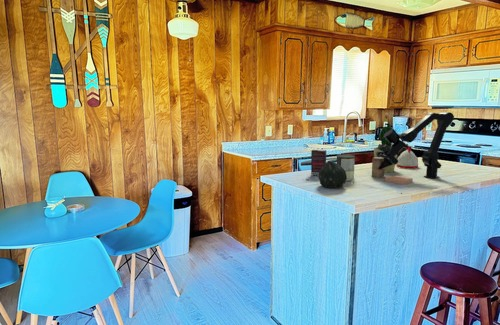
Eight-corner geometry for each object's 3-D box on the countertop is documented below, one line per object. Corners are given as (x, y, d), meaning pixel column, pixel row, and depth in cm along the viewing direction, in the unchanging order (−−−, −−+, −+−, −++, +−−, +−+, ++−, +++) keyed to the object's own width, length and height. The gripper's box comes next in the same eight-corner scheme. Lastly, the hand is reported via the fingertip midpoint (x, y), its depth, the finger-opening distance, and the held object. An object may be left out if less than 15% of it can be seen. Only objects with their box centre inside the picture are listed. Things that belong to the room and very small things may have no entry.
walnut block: (376, 177, 207) (377, 157, 205) (384, 178, 203) (385, 158, 201) (371, 178, 205) (372, 157, 203) (378, 179, 200) (379, 158, 198)
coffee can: (332, 179, 203) (333, 155, 201) (341, 176, 210) (342, 154, 208) (348, 182, 196) (349, 157, 194) (357, 179, 203) (358, 155, 201)
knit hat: (399, 168, 237) (400, 146, 235) (394, 165, 251) (395, 144, 248) (420, 168, 235) (422, 147, 232) (414, 165, 248) (416, 144, 246)
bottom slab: (395, 181, 199) (395, 178, 198) (414, 185, 189) (415, 182, 188) (382, 184, 192) (382, 181, 192) (401, 188, 182) (401, 185, 182)
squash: (350, 174, 189) (332, 154, 189) (352, 181, 175) (332, 159, 175) (330, 190, 193) (312, 170, 193) (330, 198, 179) (311, 176, 179)
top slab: (396, 179, 197) (396, 175, 197) (412, 182, 188) (412, 178, 188) (385, 181, 192) (385, 177, 191) (401, 184, 183) (401, 180, 183)
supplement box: (326, 175, 216) (326, 150, 214) (324, 176, 212) (325, 150, 209) (312, 174, 220) (313, 149, 217) (310, 175, 215) (311, 150, 213)
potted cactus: (400, 170, 230) (403, 125, 225) (392, 173, 219) (395, 126, 214) (377, 167, 240) (380, 124, 235) (368, 170, 229) (371, 125, 224)
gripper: (379, 137, 210) (360, 156, 211) (394, 140, 191) (373, 160, 192) (391, 150, 211) (372, 168, 212) (406, 154, 193) (386, 174, 194)
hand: (376, 167), depth 203 cm, fingers closed on walnut block, 7 cm apart
